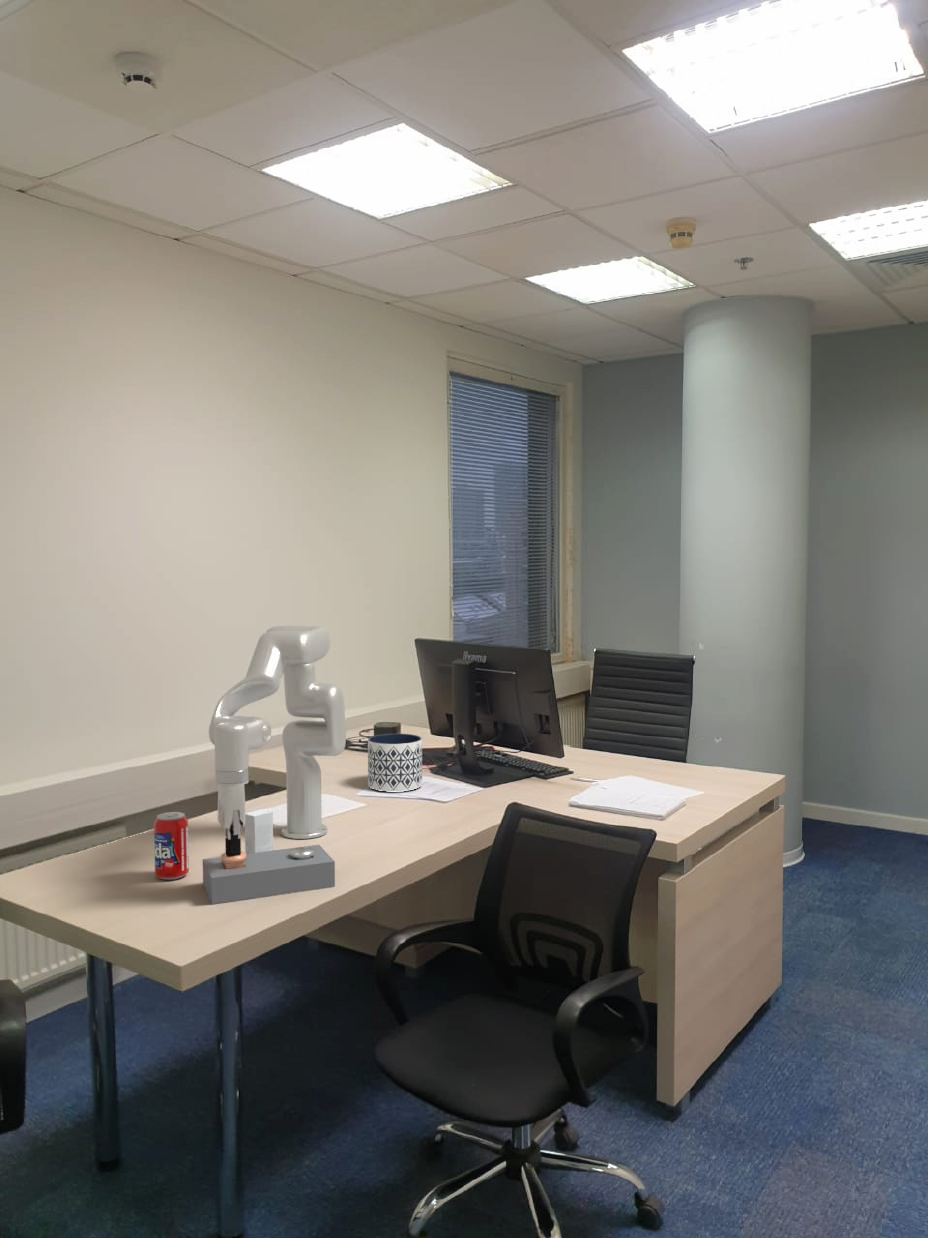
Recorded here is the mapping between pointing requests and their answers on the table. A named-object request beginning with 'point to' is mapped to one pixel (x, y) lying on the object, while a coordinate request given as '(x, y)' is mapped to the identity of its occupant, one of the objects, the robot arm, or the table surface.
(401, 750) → the planter
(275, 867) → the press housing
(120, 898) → the table surface
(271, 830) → the skincare box
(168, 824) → the soda can
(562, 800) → the table surface
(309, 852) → the grey plunger
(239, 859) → the peach dome knob
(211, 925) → the table surface
